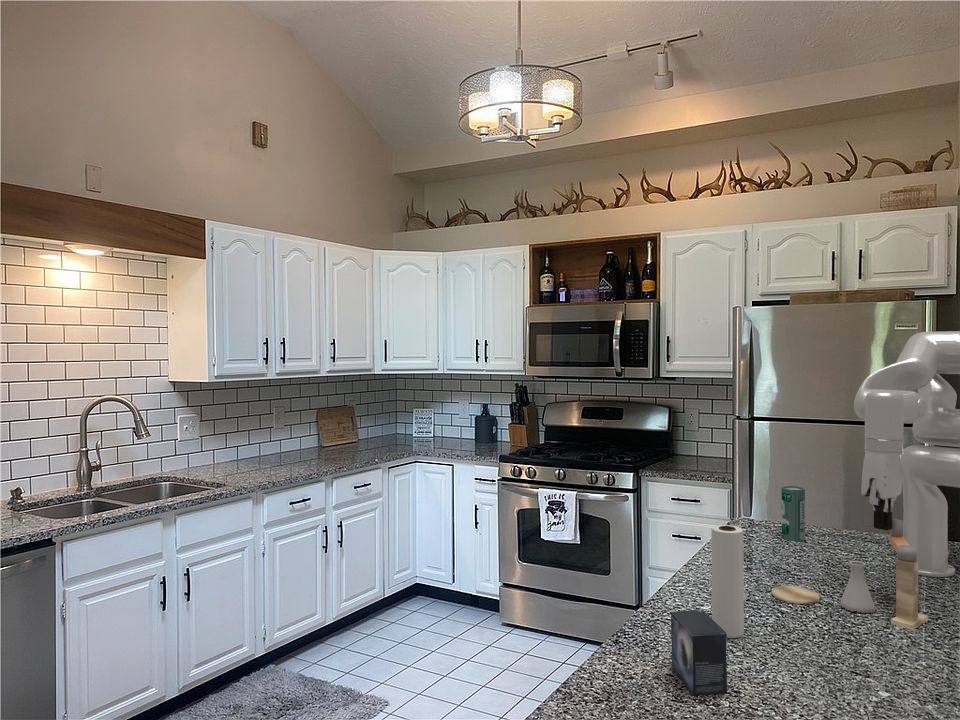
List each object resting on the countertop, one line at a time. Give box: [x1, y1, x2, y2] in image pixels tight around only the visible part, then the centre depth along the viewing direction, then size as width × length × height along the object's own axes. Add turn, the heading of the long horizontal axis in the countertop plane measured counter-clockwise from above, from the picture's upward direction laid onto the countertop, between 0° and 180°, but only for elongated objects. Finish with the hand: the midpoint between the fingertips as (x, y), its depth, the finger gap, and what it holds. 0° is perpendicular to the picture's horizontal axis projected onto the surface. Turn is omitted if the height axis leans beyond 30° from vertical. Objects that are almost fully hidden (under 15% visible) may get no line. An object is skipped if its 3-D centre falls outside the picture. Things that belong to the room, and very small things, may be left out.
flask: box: [839, 560, 876, 614], centre depth 154 cm, size 7×7×10 cm
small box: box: [670, 609, 729, 696], centre depth 122 cm, size 11×6×10 cm, turn 5°
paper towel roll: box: [711, 522, 745, 639], centre depth 141 cm, size 7×6×21 cm
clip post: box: [890, 558, 929, 631], centre depth 145 cm, size 8×4×13 cm, turn 127°
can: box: [781, 485, 806, 542], centre depth 208 cm, size 6×6×15 cm
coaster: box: [771, 585, 820, 605], centre depth 161 cm, size 10×10×1 cm
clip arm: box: [888, 518, 917, 561], centre depth 151 cm, size 4×16×5 cm, turn 158°
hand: (882, 528), depth 156 cm, fingers closed
